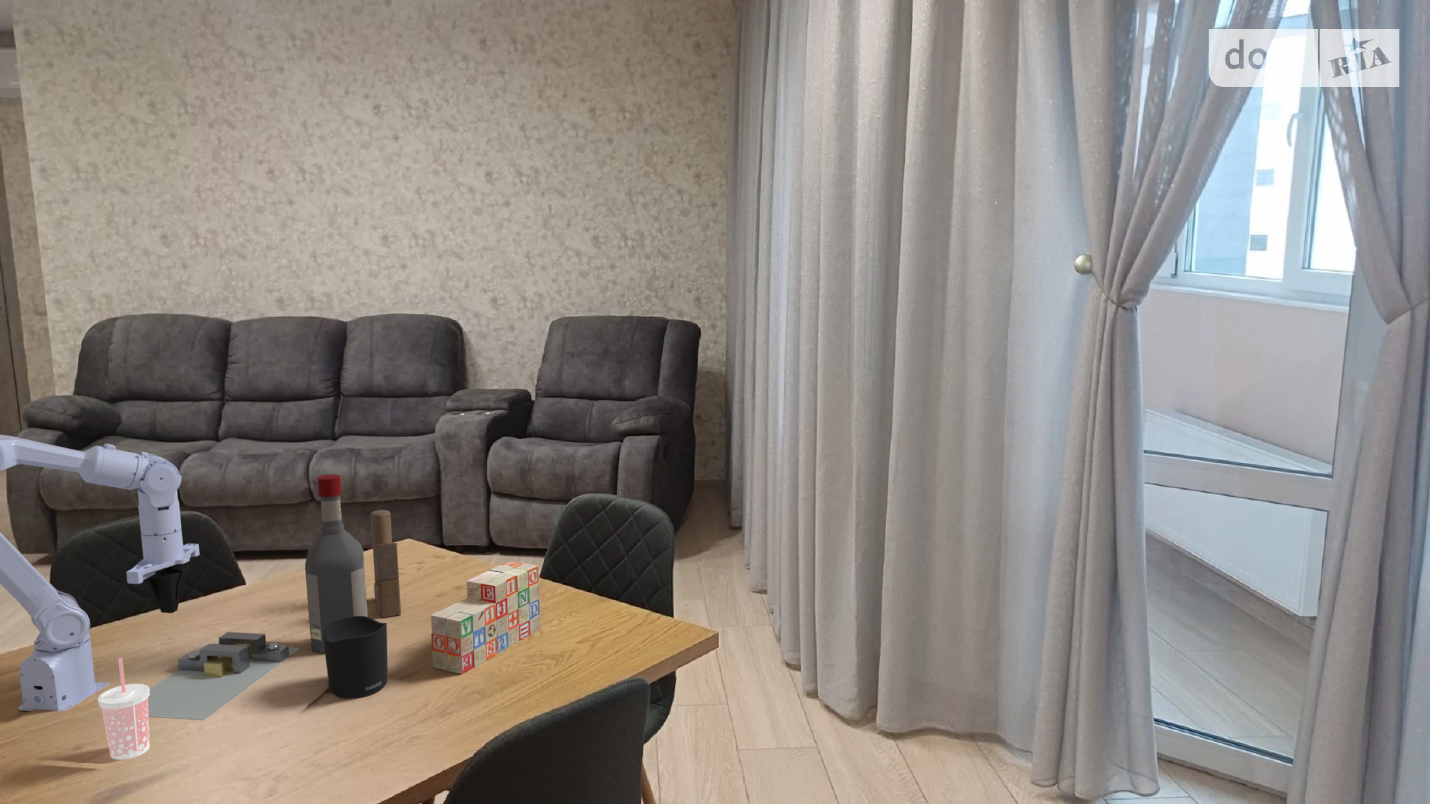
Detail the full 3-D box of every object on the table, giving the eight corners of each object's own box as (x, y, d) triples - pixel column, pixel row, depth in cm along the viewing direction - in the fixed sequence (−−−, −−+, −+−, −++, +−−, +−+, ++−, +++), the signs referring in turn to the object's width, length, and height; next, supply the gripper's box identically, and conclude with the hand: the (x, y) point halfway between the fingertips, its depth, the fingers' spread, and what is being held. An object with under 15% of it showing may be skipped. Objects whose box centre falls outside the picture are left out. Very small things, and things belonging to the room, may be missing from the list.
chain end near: (240, 673, 163) (238, 652, 162) (178, 670, 164) (176, 648, 164) (249, 667, 165) (247, 645, 165) (188, 663, 167) (186, 642, 166)
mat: (204, 723, 147) (204, 719, 147) (111, 717, 150) (110, 713, 149) (300, 651, 173) (300, 648, 173) (219, 647, 175) (219, 643, 175)
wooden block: (381, 618, 188) (375, 525, 185) (374, 600, 197) (368, 510, 194) (401, 615, 189) (396, 522, 186) (394, 597, 199) (388, 508, 196)
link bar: (222, 677, 162) (221, 664, 161) (205, 676, 162) (203, 663, 162) (262, 649, 172) (260, 637, 172) (245, 648, 173) (244, 636, 172)
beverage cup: (145, 739, 143) (135, 645, 141) (163, 753, 139) (153, 657, 137) (97, 756, 138) (86, 659, 136) (115, 771, 135) (104, 672, 132)
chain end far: (280, 662, 167) (279, 641, 167) (220, 658, 169) (218, 637, 168) (289, 656, 170) (287, 635, 169) (229, 652, 171) (227, 631, 170)
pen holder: (324, 703, 154) (319, 641, 152) (330, 677, 163) (325, 618, 161) (389, 696, 156) (385, 634, 154) (391, 671, 165) (387, 612, 163)
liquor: (369, 632, 181) (358, 468, 176) (368, 651, 173) (357, 480, 168) (314, 638, 178) (302, 472, 173) (310, 659, 170) (297, 485, 165)
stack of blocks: (462, 676, 163) (458, 603, 161) (432, 668, 166) (428, 597, 164) (541, 629, 182) (538, 564, 180) (513, 624, 185) (510, 559, 183)
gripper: (152, 545, 155) (161, 629, 157) (212, 519, 169) (219, 596, 171) (111, 543, 156) (120, 627, 158) (174, 517, 170) (181, 594, 172)
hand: (169, 611), depth 165 cm, fingers closed
